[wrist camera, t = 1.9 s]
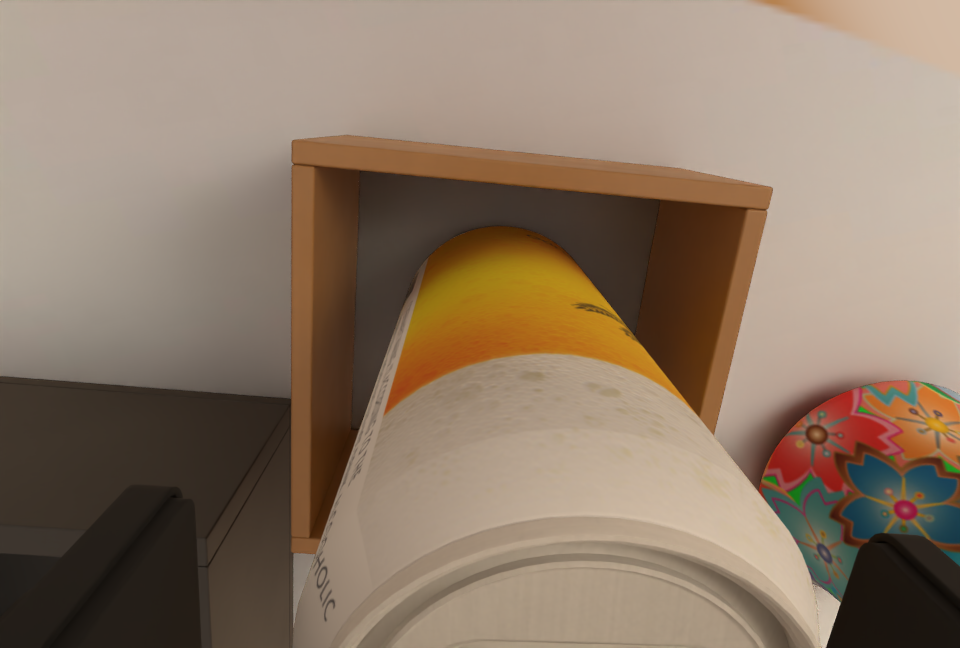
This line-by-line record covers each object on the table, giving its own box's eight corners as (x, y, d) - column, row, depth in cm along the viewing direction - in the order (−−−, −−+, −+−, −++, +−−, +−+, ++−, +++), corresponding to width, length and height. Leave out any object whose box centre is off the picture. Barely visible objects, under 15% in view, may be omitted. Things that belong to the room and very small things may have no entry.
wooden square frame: (344, 134, 18) (290, 139, 13) (681, 168, 19) (774, 187, 13) (336, 440, 22) (290, 553, 16) (624, 461, 22) (680, 579, 16)
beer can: (565, 409, 21) (763, 975, 7) (393, 381, 21) (238, 928, 7) (609, 241, 20) (989, 551, 5) (421, 205, 19) (290, 442, 5)
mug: (829, 317, 21) (1179, 505, 10) (1042, 418, 22) (1532, 669, 12) (654, 584, 24) (791, 921, 14) (848, 657, 25) (1103, 1012, 15)
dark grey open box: (-87, 369, 20) (-382, 500, 13) (294, 398, 21) (206, 538, 14) (-27, 660, 24) (-231, 883, 17) (293, 678, 25) (224, 899, 18)
